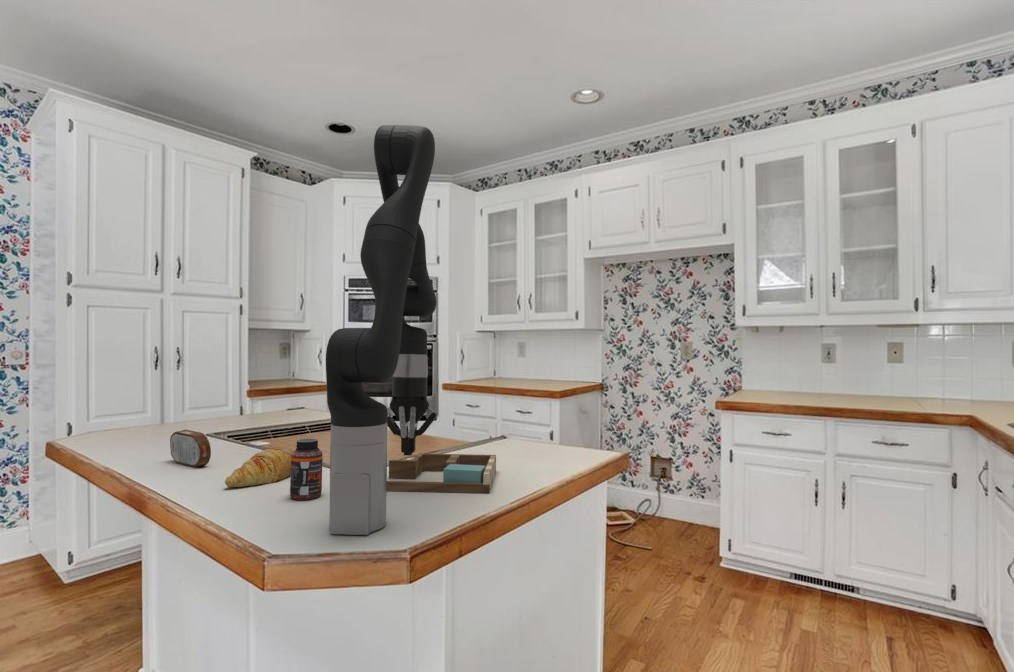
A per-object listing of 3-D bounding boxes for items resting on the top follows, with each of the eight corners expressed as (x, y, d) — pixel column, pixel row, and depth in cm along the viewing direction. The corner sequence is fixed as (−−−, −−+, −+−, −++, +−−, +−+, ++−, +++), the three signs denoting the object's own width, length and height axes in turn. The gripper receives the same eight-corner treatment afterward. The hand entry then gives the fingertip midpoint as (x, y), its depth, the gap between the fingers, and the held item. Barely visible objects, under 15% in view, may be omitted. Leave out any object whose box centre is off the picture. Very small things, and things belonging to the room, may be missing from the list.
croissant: (236, 509, 109) (250, 476, 108) (204, 482, 112) (217, 450, 111) (308, 482, 129) (321, 454, 128) (280, 459, 132) (291, 432, 131)
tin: (211, 467, 130) (212, 433, 130) (198, 470, 128) (199, 435, 128) (180, 460, 138) (180, 427, 138) (167, 462, 136) (167, 429, 136)
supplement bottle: (311, 502, 102) (312, 443, 103) (283, 500, 103) (284, 441, 104) (327, 493, 108) (328, 438, 108) (301, 491, 109) (302, 436, 110)
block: (480, 492, 111) (480, 471, 111) (443, 490, 112) (443, 469, 112) (485, 486, 115) (485, 465, 116) (449, 484, 117) (450, 464, 117)
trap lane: (489, 493, 109) (489, 473, 109) (375, 490, 110) (375, 471, 111) (495, 471, 128) (496, 454, 128) (398, 469, 130) (398, 453, 130)
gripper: (375, 375, 113) (373, 457, 112) (437, 376, 112) (435, 458, 112) (384, 374, 120) (382, 451, 120) (442, 375, 120) (441, 452, 119)
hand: (408, 454), depth 116 cm, fingers closed
